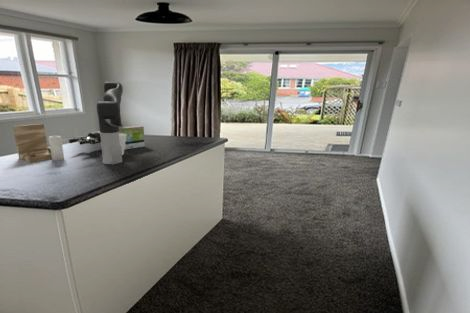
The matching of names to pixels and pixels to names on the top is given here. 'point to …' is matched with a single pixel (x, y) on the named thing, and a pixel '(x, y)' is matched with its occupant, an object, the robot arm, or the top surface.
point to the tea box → (133, 136)
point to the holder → (32, 142)
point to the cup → (122, 141)
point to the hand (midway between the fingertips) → (74, 142)
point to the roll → (56, 148)
